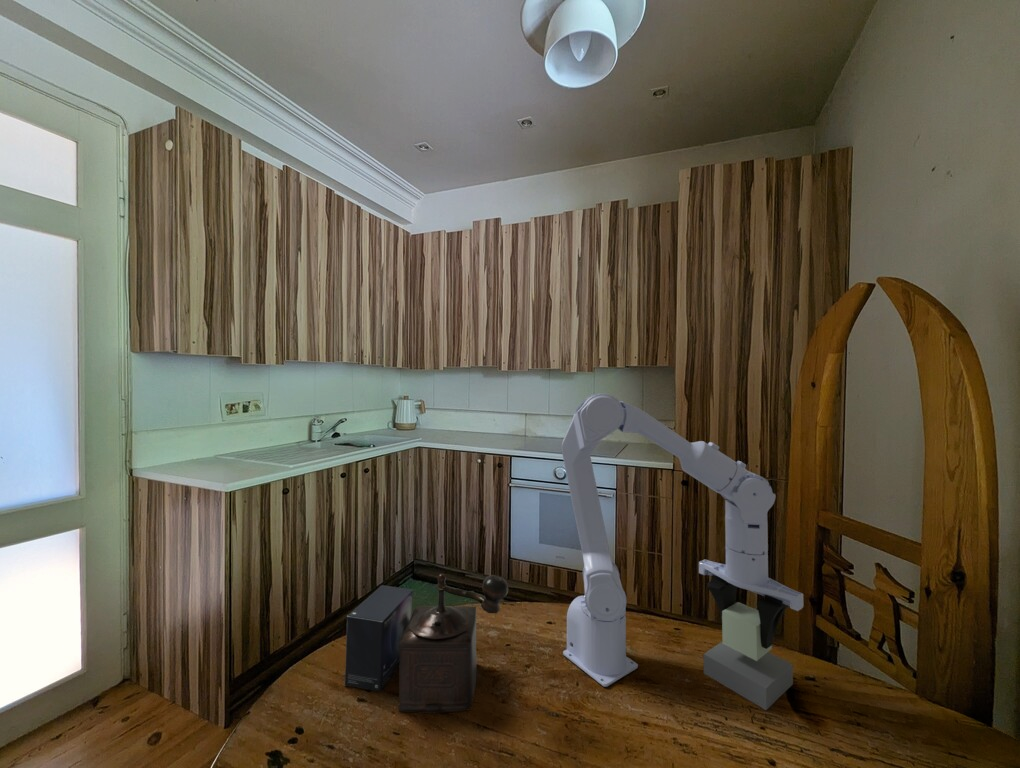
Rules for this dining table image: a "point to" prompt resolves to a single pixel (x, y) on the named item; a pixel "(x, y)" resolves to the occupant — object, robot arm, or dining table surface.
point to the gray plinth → (749, 674)
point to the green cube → (743, 630)
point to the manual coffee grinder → (443, 651)
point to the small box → (376, 637)
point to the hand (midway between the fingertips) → (747, 636)
